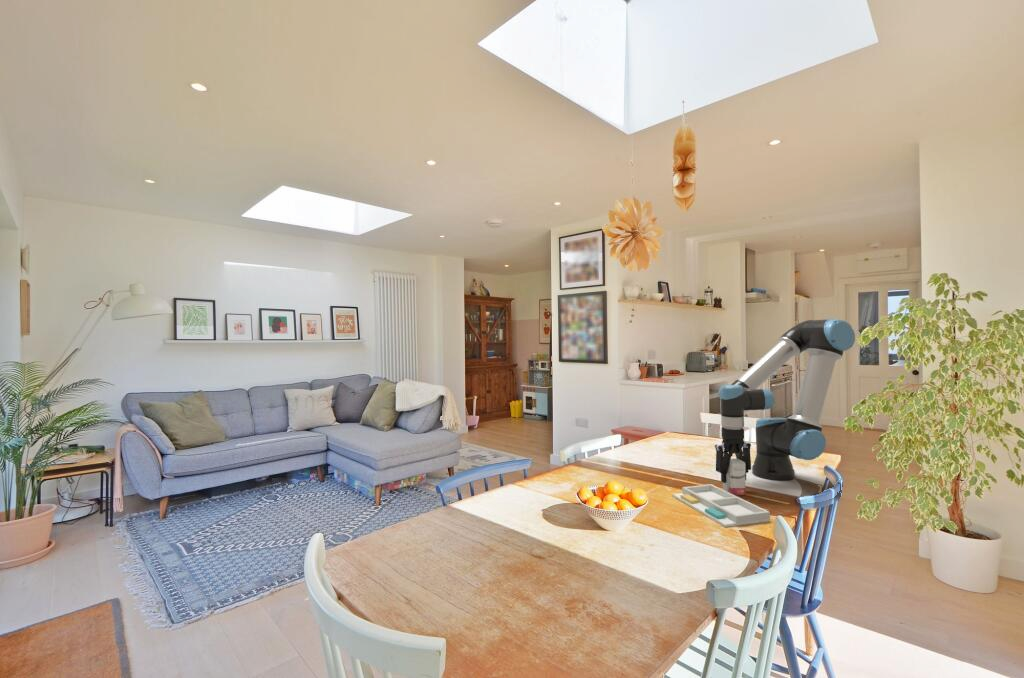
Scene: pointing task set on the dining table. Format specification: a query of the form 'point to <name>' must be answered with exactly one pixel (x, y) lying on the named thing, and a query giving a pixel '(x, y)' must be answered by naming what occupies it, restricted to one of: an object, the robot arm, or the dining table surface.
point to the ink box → (736, 476)
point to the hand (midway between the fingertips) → (734, 490)
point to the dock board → (722, 505)
